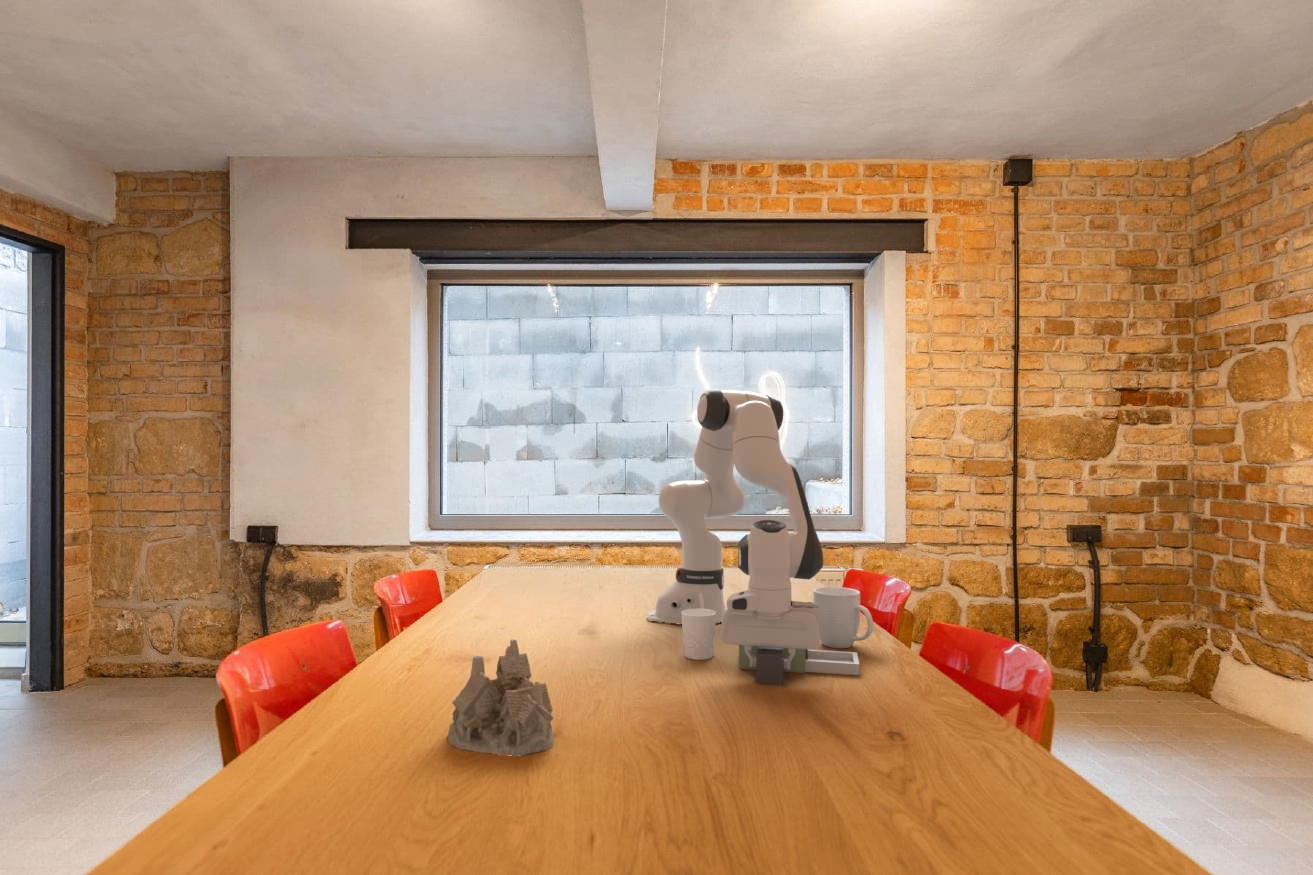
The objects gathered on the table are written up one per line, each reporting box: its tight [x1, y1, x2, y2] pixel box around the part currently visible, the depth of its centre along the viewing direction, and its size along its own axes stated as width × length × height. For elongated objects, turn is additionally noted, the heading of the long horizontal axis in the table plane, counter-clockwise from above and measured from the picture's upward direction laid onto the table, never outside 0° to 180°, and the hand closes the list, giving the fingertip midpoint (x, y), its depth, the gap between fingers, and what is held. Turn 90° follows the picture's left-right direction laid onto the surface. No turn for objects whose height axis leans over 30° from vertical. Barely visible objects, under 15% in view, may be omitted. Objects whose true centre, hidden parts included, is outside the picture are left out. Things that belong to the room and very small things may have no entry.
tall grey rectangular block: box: [755, 646, 784, 686], centre depth 142 cm, size 5×8×6 cm, turn 167°
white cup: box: [681, 608, 717, 661], centre depth 158 cm, size 8×8×10 cm
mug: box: [813, 586, 874, 649], centre depth 166 cm, size 15×11×13 cm
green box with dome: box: [738, 645, 860, 676], centre depth 151 cm, size 25×11×10 cm, turn 77°
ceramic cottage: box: [446, 639, 555, 756], centre depth 112 cm, size 16×16×15 cm
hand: (770, 667), depth 142 cm, fingers open, 5 cm apart
